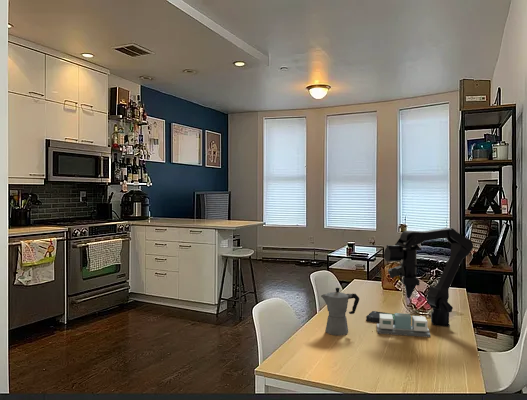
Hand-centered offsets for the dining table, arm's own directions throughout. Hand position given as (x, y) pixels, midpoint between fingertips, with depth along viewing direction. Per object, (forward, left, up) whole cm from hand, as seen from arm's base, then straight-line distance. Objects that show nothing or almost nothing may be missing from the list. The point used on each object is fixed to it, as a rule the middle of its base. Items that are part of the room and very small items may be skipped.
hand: (408, 297), depth 186 cm
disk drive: (+9, -6, -13) cm, 16 cm away
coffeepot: (+28, +15, -12) cm, 34 cm away
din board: (+3, +8, -12) cm, 15 cm away
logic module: (+3, +8, -10) cm, 13 cm away
